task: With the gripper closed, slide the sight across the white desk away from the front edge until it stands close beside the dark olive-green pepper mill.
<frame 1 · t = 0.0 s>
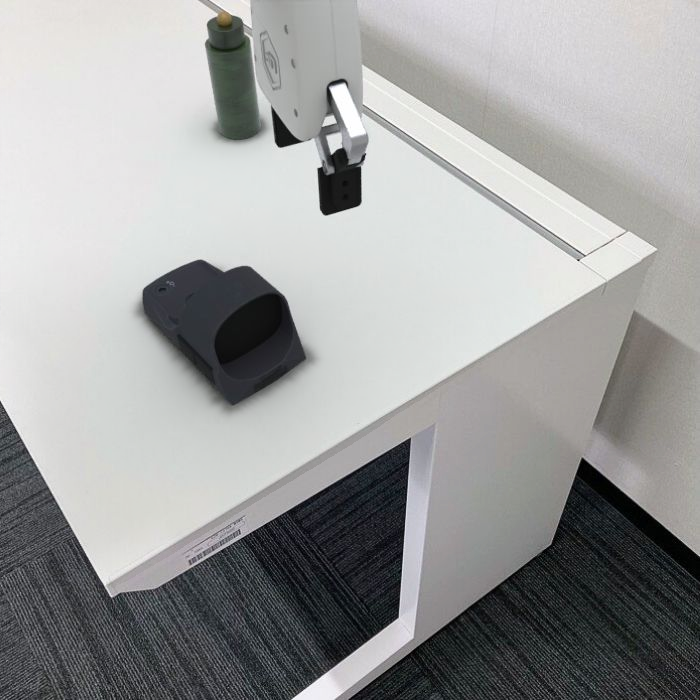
hand: (316, 174, 60), 21 cm above the table, tool pointing down, fingers open, 9 cm apart
pepper mill: (240, 127, 103), on the table
sight: (218, 333, 78), on the table
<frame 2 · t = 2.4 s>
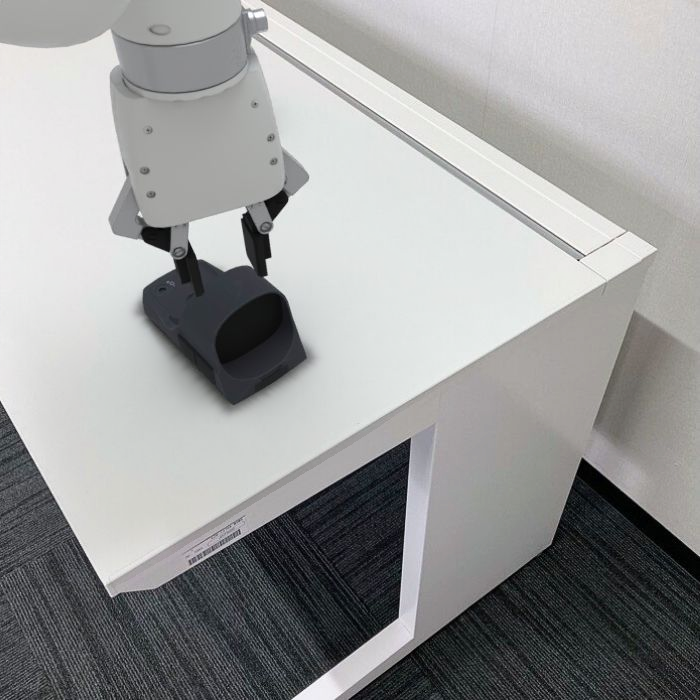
hand: (226, 273, 58), 17 cm above the table, tool pointing down, fingers open, 4 cm apart
nothing on the table moved.
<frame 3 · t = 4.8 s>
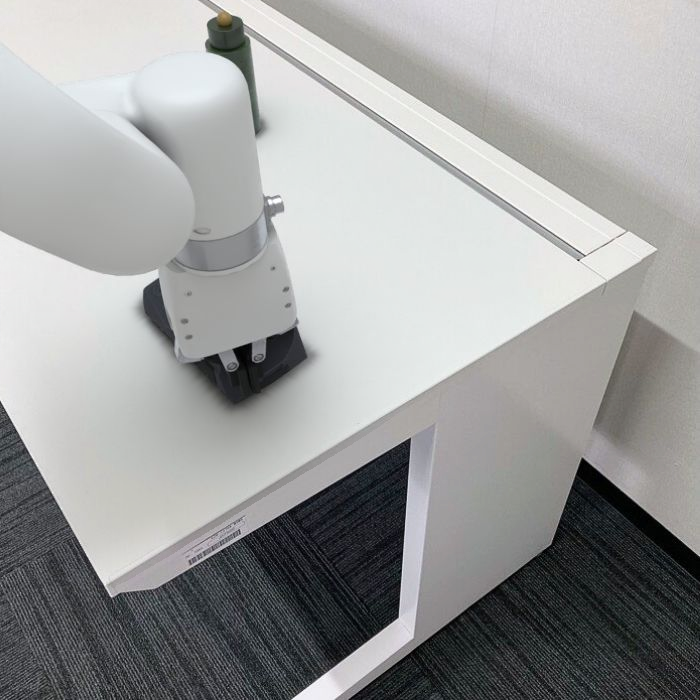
hand: (247, 384, 70), 3 cm above the table, tool pointing down, fingers closed
sight: (218, 332, 78), on the table, touching gripper
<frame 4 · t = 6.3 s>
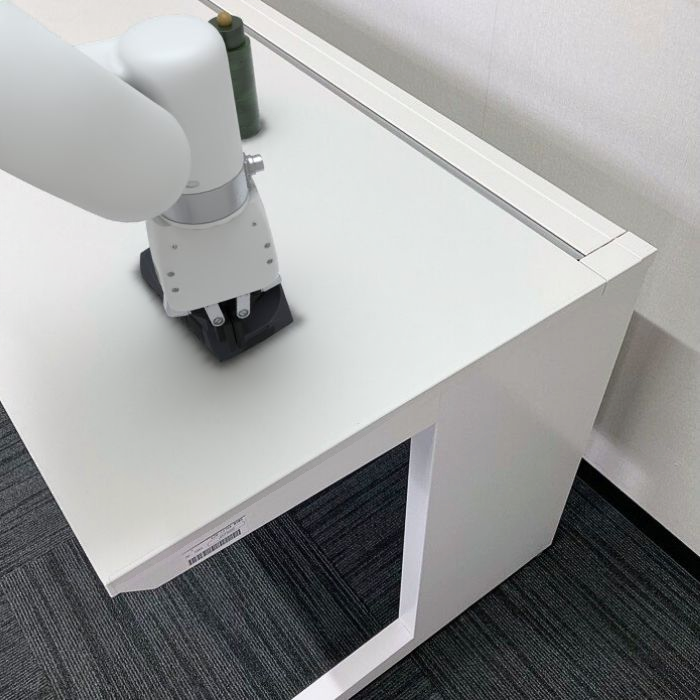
hand: (233, 340, 73), 3 cm above the table, tool pointing down, fingers closed
sight: (210, 296, 82), on the table, touching gripper
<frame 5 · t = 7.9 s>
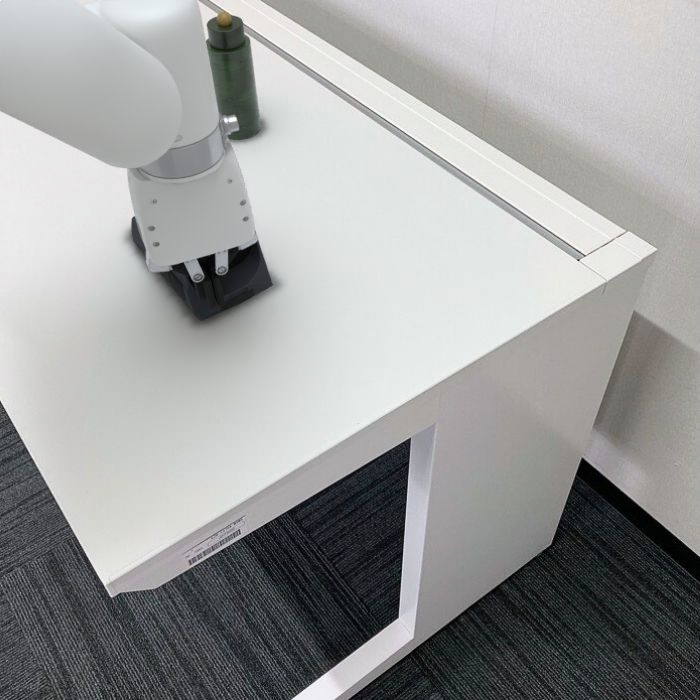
hand: (213, 298, 77), 3 cm above the table, tool pointing down, fingers closed
sight: (196, 260, 86), on the table, touching gripper
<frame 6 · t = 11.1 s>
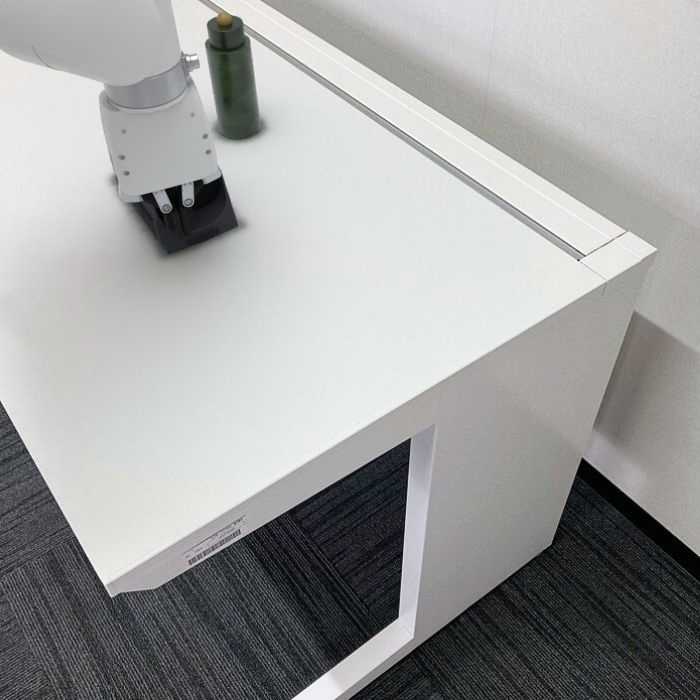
hand: (182, 231, 84), 3 cm above the table, tool pointing down, fingers closed
sight: (172, 202, 93), on the table, touching gripper
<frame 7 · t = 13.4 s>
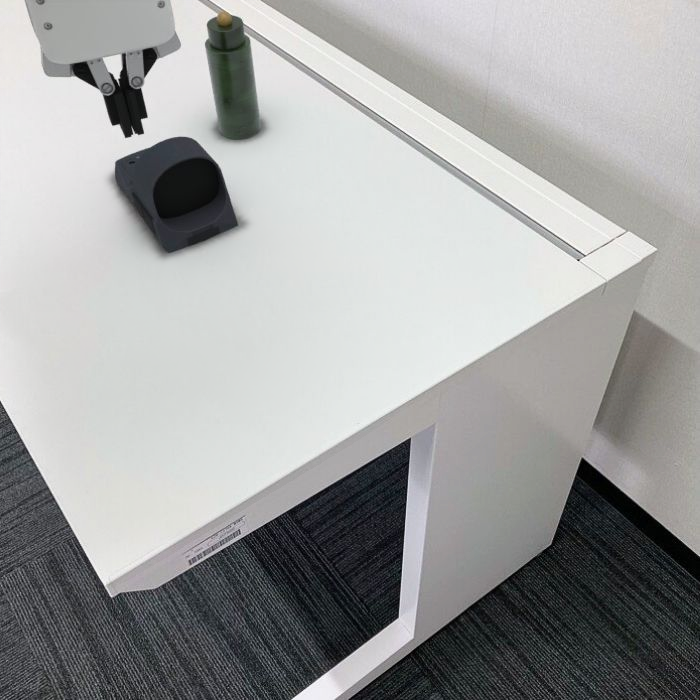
hand: (131, 127, 65), 21 cm above the table, tool pointing down, fingers closed
sight: (171, 201, 93), on the table
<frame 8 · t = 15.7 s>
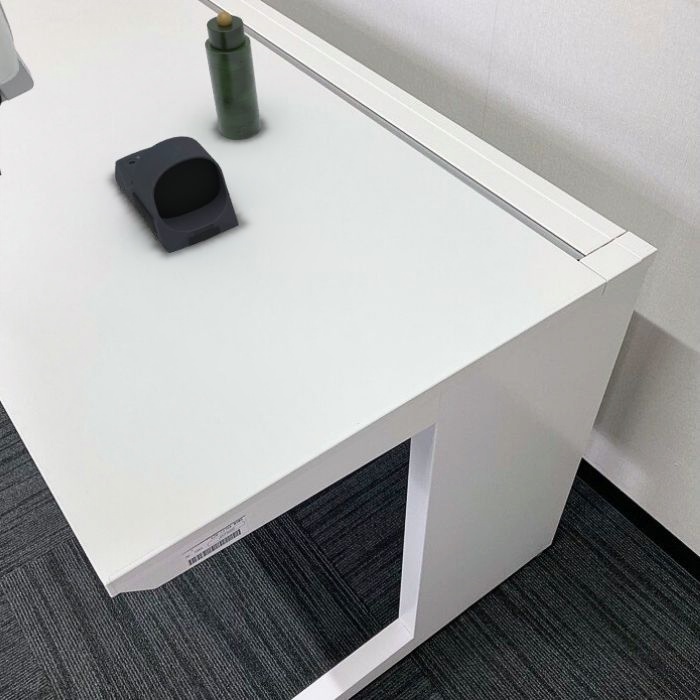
nothing on the table moved.
at the end: sight 17.0 cm from the pepper mill (horizontally); sight moved 23.6 cm from its start; sight tilted 0° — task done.
